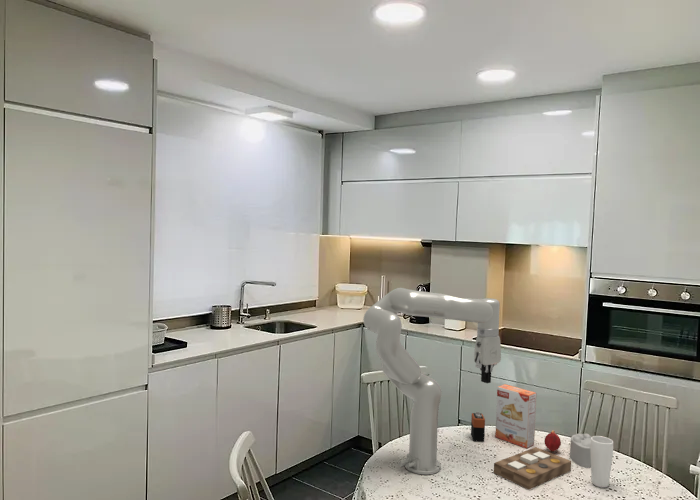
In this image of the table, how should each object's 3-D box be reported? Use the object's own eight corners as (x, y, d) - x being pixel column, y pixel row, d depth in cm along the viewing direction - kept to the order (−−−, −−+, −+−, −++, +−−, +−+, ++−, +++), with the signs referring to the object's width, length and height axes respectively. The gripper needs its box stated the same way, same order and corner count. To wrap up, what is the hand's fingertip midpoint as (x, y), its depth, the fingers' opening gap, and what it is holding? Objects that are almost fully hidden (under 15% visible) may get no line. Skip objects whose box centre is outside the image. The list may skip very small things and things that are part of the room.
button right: (542, 465, 188) (542, 458, 188) (532, 460, 191) (532, 454, 191) (549, 462, 191) (549, 455, 190) (539, 457, 194) (539, 451, 194)
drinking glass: (592, 477, 183) (594, 434, 182) (613, 484, 178) (615, 439, 178) (586, 484, 177) (588, 439, 177) (608, 491, 173) (610, 445, 172)
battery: (473, 441, 211) (474, 416, 210) (470, 434, 217) (471, 410, 217) (484, 442, 210) (485, 417, 210) (481, 435, 217) (482, 411, 217)
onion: (561, 455, 200) (562, 434, 199) (545, 454, 201) (546, 432, 200) (558, 449, 205) (559, 428, 205) (543, 447, 206) (543, 427, 206)
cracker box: (494, 437, 215) (496, 386, 214) (502, 434, 219) (504, 383, 218) (526, 449, 205) (528, 394, 204) (534, 445, 209) (537, 391, 208)
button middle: (530, 467, 184) (530, 460, 184) (520, 463, 187) (520, 456, 187) (537, 464, 186) (538, 457, 186) (527, 460, 190) (527, 453, 190)
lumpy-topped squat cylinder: (579, 467, 190) (580, 443, 190) (564, 452, 203) (565, 429, 203) (608, 468, 190) (609, 444, 190) (591, 452, 203) (592, 430, 203)
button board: (528, 489, 173) (529, 478, 173) (493, 473, 184) (494, 462, 184) (570, 470, 187) (571, 460, 187) (535, 456, 198) (536, 446, 198)
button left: (517, 475, 180) (518, 468, 180) (507, 470, 183) (507, 463, 183) (525, 472, 182) (525, 465, 182) (515, 467, 186) (515, 460, 186)
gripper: (482, 336, 189) (480, 388, 190) (509, 332, 198) (507, 381, 199) (466, 332, 195) (464, 382, 196) (492, 328, 204) (490, 376, 205)
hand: (485, 382), depth 198 cm, fingers closed
